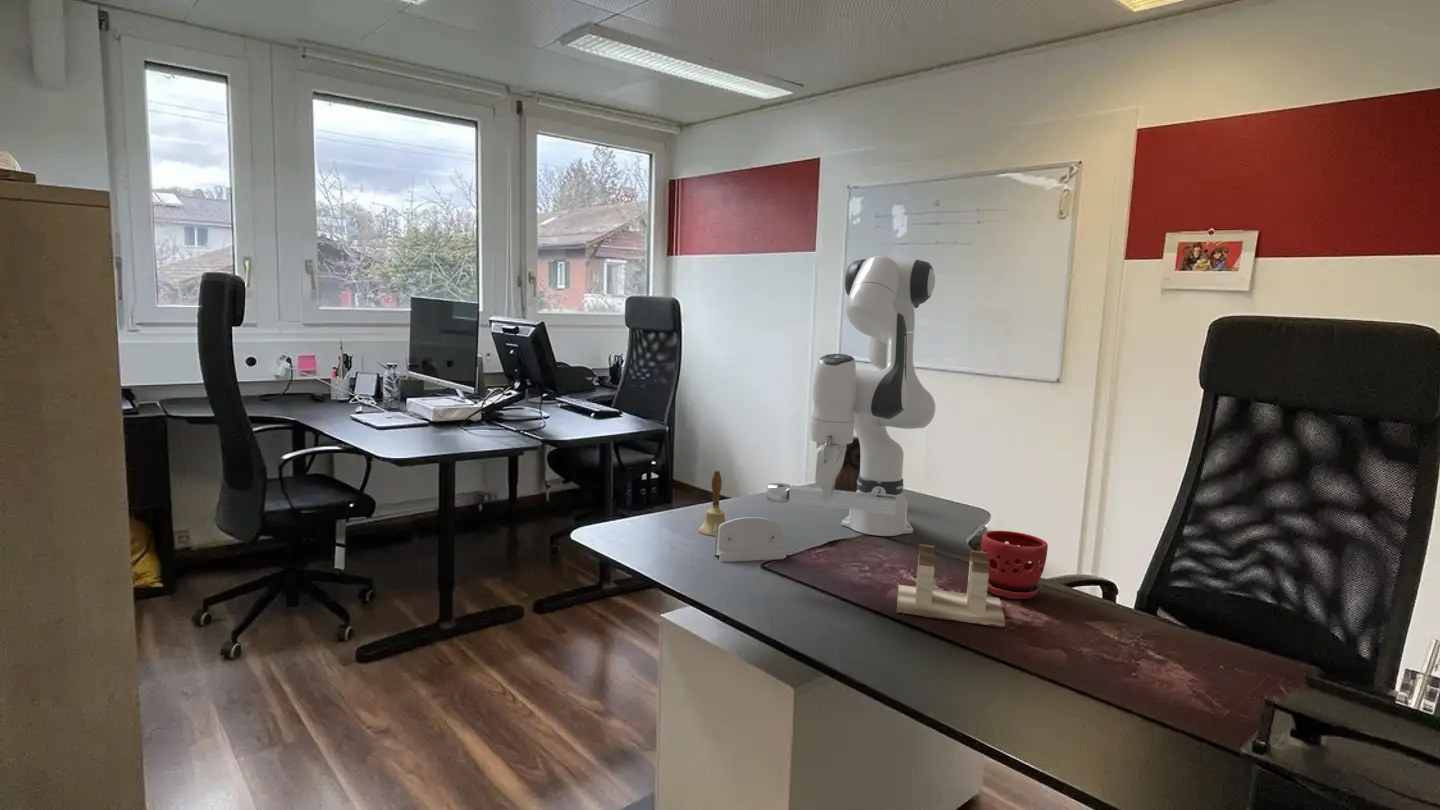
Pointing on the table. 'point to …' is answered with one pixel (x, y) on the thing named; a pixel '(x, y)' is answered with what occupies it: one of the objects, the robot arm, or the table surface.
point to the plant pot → (1014, 563)
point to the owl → (849, 468)
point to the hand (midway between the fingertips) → (827, 497)
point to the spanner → (833, 498)
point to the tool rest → (951, 603)
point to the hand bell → (713, 509)
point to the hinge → (749, 540)
